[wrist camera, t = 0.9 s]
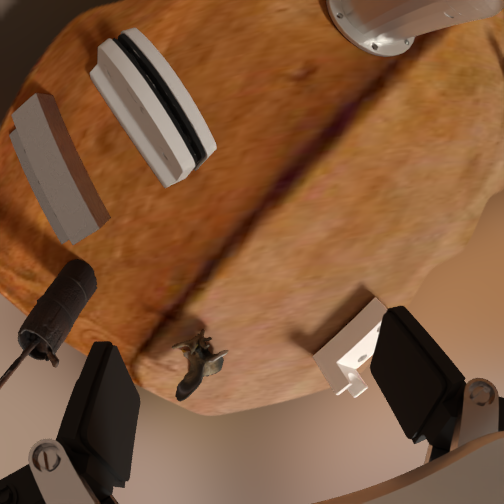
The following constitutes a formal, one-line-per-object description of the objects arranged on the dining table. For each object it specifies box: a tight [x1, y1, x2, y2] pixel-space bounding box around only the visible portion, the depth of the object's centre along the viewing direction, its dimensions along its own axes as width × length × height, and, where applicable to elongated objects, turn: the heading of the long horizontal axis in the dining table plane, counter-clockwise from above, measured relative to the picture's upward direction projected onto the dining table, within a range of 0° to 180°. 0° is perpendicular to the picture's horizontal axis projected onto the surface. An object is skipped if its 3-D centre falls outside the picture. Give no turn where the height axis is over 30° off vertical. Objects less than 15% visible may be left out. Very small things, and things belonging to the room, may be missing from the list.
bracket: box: [312, 297, 388, 397], centre depth 40 cm, size 13×7×8 cm, turn 138°
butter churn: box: [0, 259, 97, 389], centre depth 21 cm, size 9×10×28 cm
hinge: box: [90, 28, 216, 188], centre depth 24 cm, size 17×5×10 cm, turn 31°
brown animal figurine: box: [172, 329, 228, 401], centre depth 37 cm, size 8×8×10 cm
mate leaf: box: [9, 93, 111, 245], centre depth 26 cm, size 8×17×4 cm, turn 23°
